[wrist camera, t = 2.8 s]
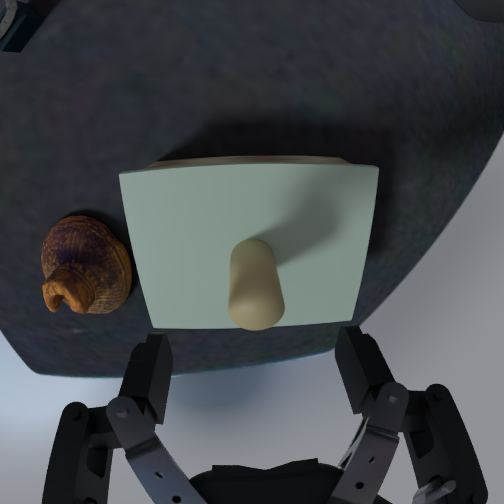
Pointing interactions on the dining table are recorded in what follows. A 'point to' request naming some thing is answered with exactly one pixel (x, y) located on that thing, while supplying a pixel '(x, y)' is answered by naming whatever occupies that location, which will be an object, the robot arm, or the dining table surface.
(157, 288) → the lid
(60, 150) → the dining table surface
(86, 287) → the brown rounded piece
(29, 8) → the watch
